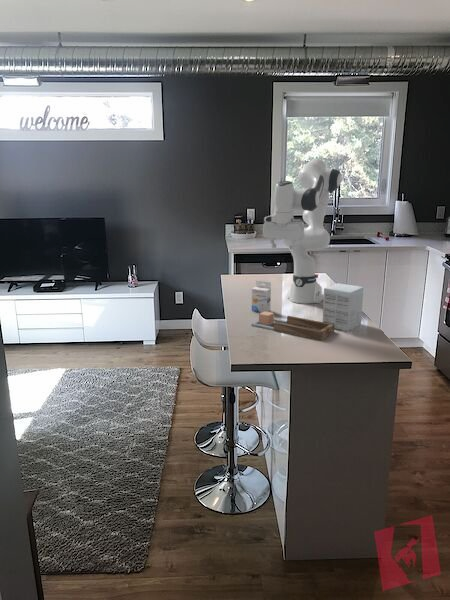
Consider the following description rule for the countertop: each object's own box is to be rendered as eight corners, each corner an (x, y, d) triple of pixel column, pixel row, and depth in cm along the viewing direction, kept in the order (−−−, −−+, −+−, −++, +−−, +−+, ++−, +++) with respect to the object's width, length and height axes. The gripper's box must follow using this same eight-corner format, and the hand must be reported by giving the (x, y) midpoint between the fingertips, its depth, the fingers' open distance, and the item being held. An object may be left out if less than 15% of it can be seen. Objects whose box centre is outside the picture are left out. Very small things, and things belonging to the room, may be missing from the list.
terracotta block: (264, 321, 224) (264, 311, 223) (273, 323, 222) (274, 312, 220) (258, 324, 221) (258, 313, 219) (268, 326, 218) (268, 315, 216)
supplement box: (335, 318, 227) (337, 282, 223) (361, 324, 219) (364, 286, 215) (321, 325, 218) (323, 288, 213) (348, 331, 209) (351, 292, 205)
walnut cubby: (288, 322, 222) (288, 315, 221) (334, 332, 209) (334, 324, 208) (273, 330, 212) (274, 322, 211) (320, 340, 199) (321, 332, 198)
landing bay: (266, 318, 228) (266, 317, 228) (288, 322, 222) (288, 321, 222) (251, 325, 218) (251, 323, 218) (273, 330, 212) (273, 328, 212)
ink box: (251, 311, 241) (251, 282, 237) (255, 308, 245) (255, 280, 241) (266, 313, 237) (267, 284, 233) (270, 310, 241) (271, 282, 237)
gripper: (307, 218, 214) (306, 249, 218) (268, 216, 226) (267, 246, 230) (300, 220, 209) (299, 251, 213) (261, 217, 221) (260, 247, 225)
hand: (282, 248), depth 221 cm, fingers open, 8 cm apart
